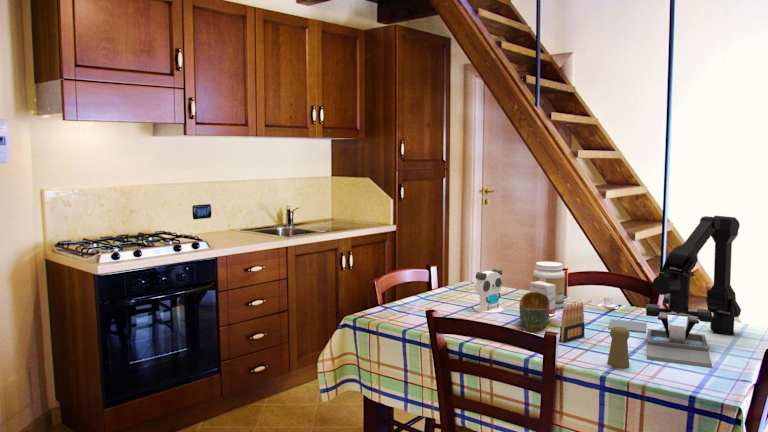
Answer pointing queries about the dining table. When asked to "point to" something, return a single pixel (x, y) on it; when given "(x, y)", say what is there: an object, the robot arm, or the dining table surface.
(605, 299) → the teacup and saucer
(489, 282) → the panda figurine
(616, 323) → the slate mat
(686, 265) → the robot arm
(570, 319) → the ammunition clip
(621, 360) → the brown tapered mill
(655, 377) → the dining table surface
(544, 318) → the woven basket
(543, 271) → the supplement tub
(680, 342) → the block
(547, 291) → the ink box
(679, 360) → the gray rectangular frame
